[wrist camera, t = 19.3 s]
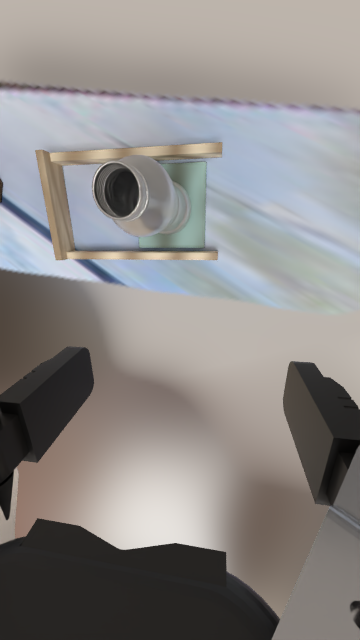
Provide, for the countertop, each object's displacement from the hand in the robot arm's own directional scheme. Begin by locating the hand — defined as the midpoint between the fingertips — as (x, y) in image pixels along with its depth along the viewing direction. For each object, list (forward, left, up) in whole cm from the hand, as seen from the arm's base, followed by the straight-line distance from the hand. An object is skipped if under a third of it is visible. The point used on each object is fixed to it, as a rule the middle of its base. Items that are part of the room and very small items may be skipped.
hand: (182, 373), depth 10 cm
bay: (+11, -8, -30) cm, 33 cm away
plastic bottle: (+6, -8, -30) cm, 31 cm away
